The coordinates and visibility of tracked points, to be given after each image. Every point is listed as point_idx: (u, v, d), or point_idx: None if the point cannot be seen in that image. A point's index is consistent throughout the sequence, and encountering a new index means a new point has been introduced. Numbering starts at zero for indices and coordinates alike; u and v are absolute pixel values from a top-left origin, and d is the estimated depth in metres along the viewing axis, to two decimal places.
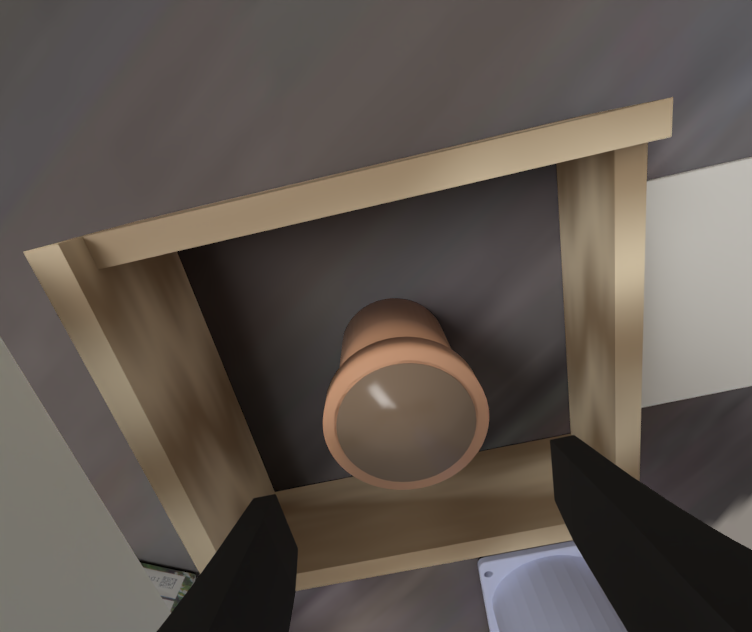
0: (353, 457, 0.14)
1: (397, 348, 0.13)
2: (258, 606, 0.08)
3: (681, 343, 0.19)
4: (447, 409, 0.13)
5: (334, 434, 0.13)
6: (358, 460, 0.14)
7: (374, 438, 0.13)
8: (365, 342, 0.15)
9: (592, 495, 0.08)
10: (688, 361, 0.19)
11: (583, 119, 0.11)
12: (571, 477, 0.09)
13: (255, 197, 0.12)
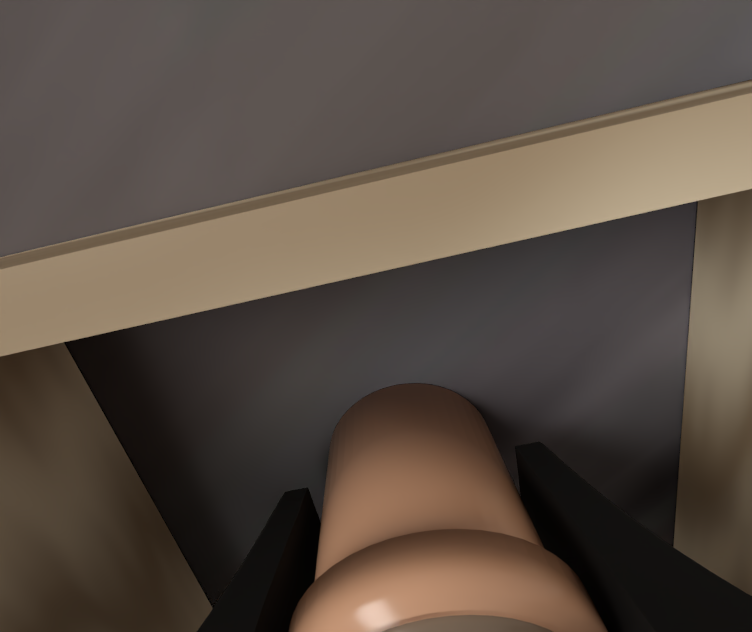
0: None
1: (438, 580, 0.06)
2: (297, 599, 0.08)
3: None
4: None
5: None
6: None
7: None
8: (366, 506, 0.08)
9: (550, 503, 0.08)
10: None
11: None
12: (533, 485, 0.09)
13: (92, 251, 0.05)
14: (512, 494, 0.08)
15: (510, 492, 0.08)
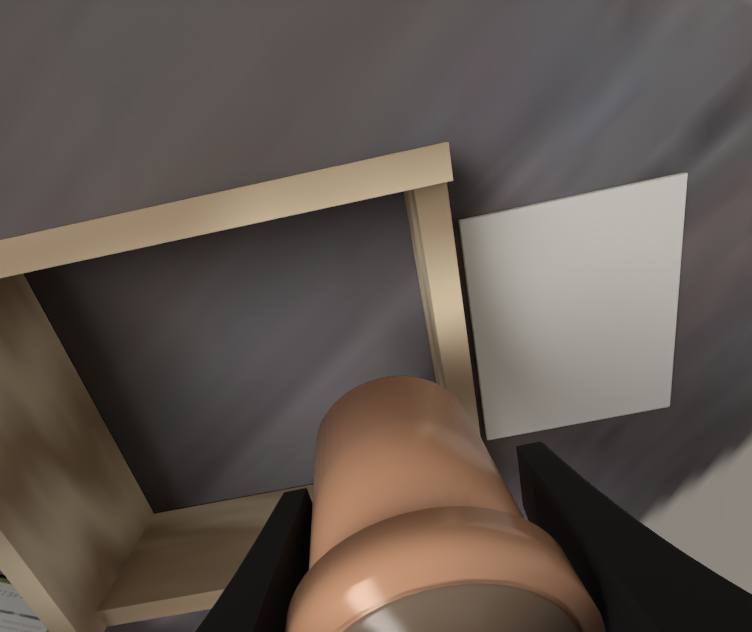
0: None
1: (433, 553, 0.06)
2: None
3: (549, 372, 0.19)
4: None
5: None
6: None
7: None
8: (358, 493, 0.08)
9: (551, 503, 0.08)
10: (558, 390, 0.19)
11: (359, 162, 0.11)
12: (534, 484, 0.09)
13: (33, 234, 0.11)
14: (495, 475, 0.09)
15: (493, 473, 0.09)
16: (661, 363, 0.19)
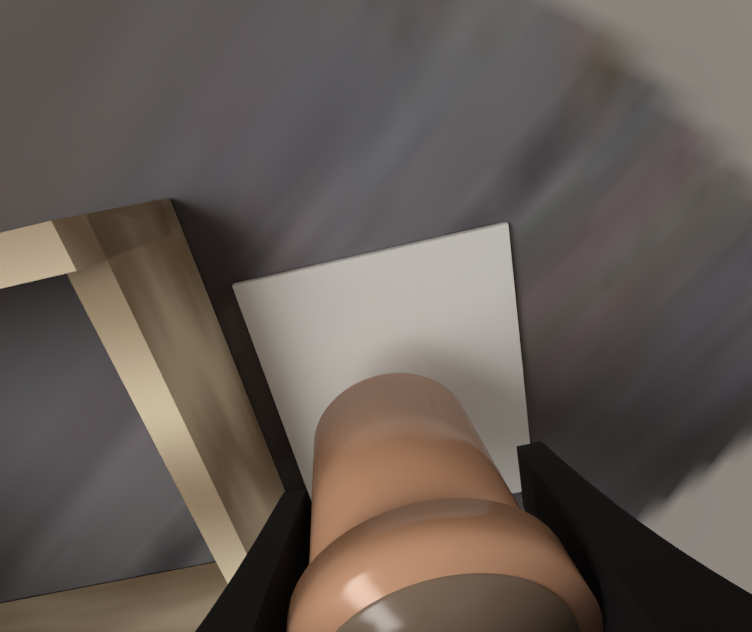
0: None
1: (433, 543, 0.06)
2: None
3: None
4: None
5: None
6: None
7: None
8: (357, 488, 0.08)
9: (552, 503, 0.08)
10: None
11: None
12: (534, 484, 0.09)
13: None
14: (493, 469, 0.09)
15: (491, 467, 0.09)
16: (515, 442, 0.16)
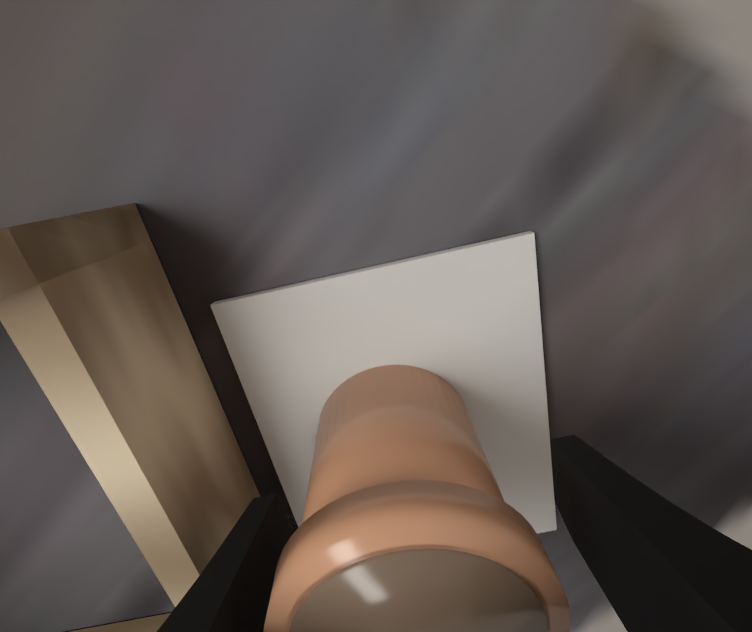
0: None
1: (401, 519, 0.06)
2: (258, 606, 0.08)
3: None
4: (493, 616, 0.07)
5: None
6: None
7: None
8: (345, 467, 0.09)
9: (592, 495, 0.08)
10: None
11: None
12: (571, 477, 0.09)
13: None
14: (479, 459, 0.09)
15: (477, 457, 0.09)
16: (536, 479, 0.14)
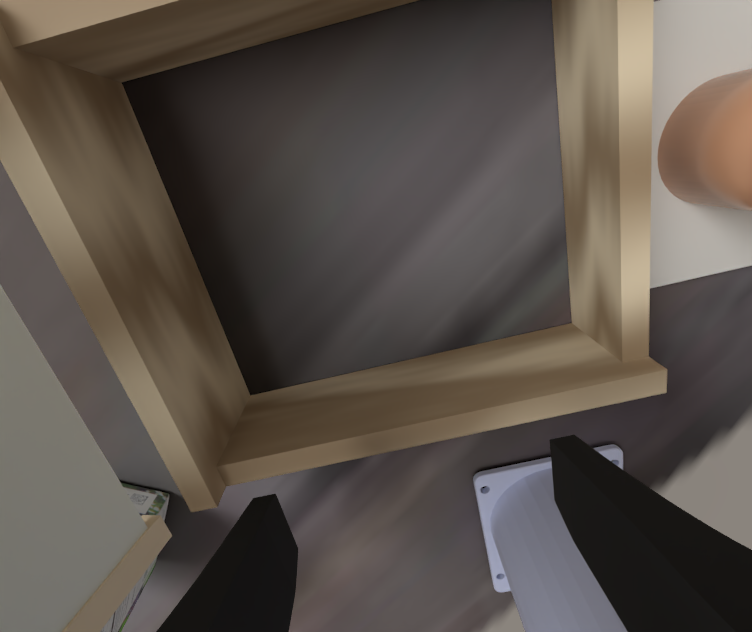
0: None
1: None
2: (258, 606, 0.08)
3: (693, 208, 0.17)
4: None
5: None
6: None
7: None
8: None
9: (592, 495, 0.08)
10: (701, 230, 0.17)
11: None
12: (571, 477, 0.09)
13: None
14: None
15: None
16: None
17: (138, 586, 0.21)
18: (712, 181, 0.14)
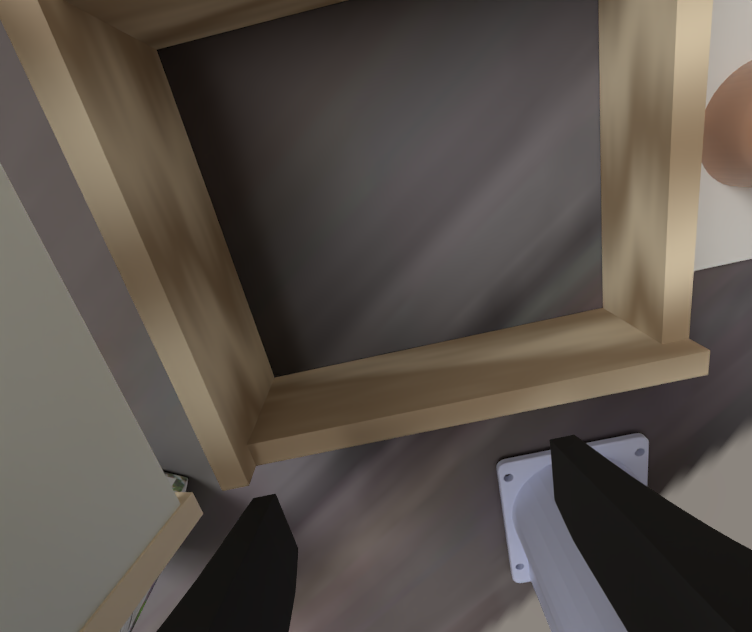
0: None
1: None
2: (258, 606, 0.08)
3: (731, 191, 0.17)
4: None
5: None
6: None
7: None
8: None
9: (592, 495, 0.08)
10: (738, 214, 0.17)
11: None
12: (571, 477, 0.09)
13: None
14: None
15: None
16: None
17: None
18: None
